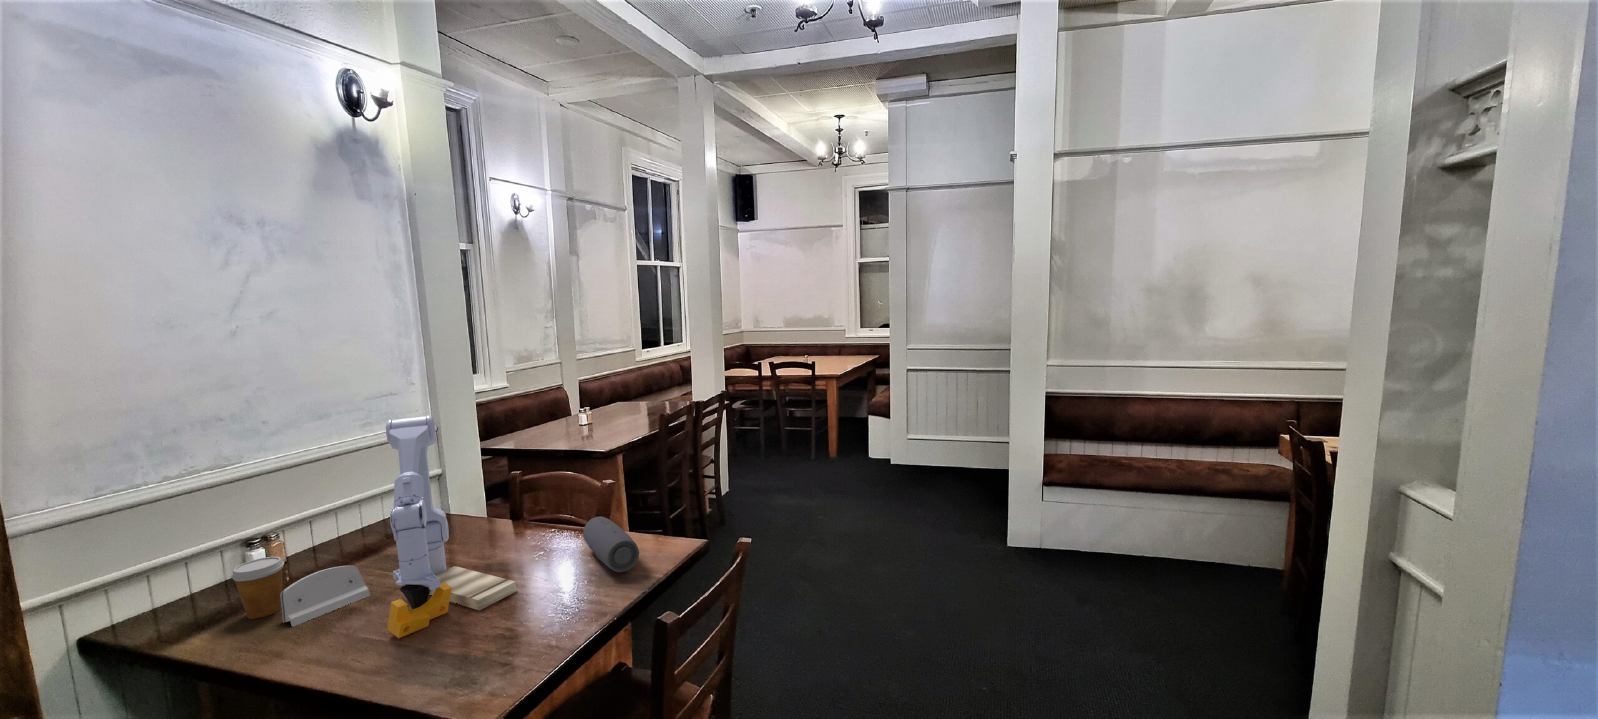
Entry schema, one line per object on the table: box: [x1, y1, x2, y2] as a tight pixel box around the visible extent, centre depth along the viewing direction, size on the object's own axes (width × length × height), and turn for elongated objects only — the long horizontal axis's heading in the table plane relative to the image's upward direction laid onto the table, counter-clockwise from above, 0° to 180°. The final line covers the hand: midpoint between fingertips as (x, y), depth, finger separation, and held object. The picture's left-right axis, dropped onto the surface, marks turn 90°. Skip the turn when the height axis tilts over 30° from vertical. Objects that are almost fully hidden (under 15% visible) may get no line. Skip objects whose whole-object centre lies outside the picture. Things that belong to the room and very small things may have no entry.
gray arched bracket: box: [280, 565, 371, 628], centre depth 148 cm, size 17×5×10 cm, turn 149°
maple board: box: [429, 565, 517, 611], centre depth 153 cm, size 24×10×3 cm, turn 63°
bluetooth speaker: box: [582, 516, 640, 573], centre depth 166 cm, size 23×9×10 cm, turn 34°
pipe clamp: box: [386, 583, 452, 639], centre depth 137 cm, size 12×4×6 cm, turn 153°
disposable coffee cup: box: [230, 556, 285, 620], centre depth 147 cm, size 10×10×12 cm
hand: (420, 613), depth 140 cm, fingers closed
